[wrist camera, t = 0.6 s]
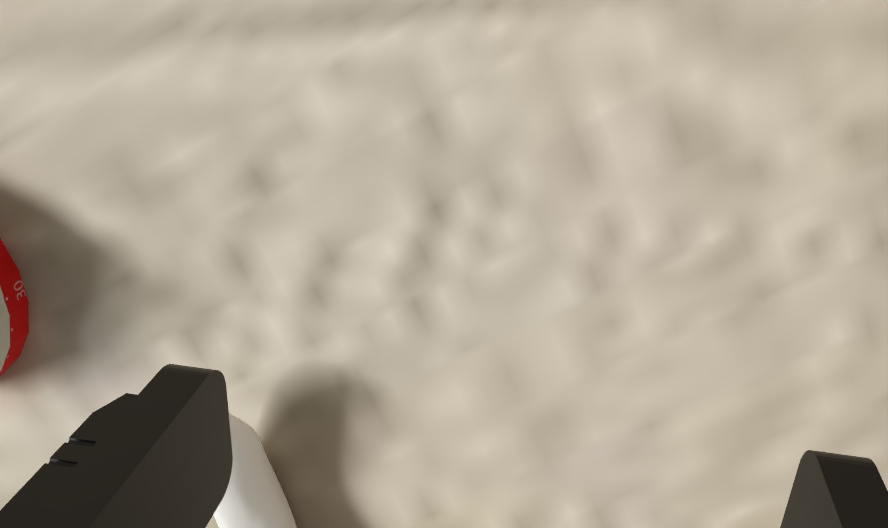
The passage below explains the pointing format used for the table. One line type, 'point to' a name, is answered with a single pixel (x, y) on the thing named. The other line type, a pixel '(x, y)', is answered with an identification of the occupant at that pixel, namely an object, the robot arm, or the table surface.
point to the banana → (252, 486)
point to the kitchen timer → (11, 311)
